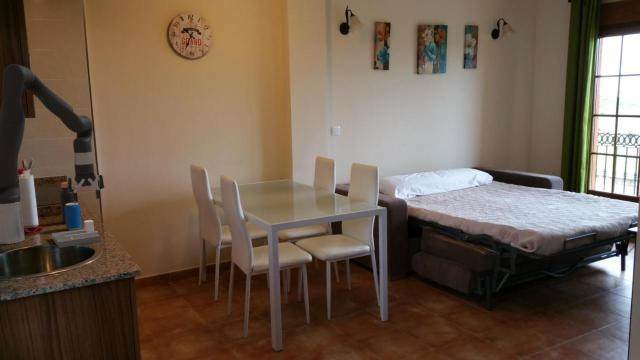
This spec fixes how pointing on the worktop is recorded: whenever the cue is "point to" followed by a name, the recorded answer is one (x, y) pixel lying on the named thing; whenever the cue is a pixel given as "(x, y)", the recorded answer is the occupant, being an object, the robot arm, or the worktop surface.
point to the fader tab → (89, 226)
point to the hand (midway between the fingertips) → (87, 200)
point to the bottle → (65, 199)
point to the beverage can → (73, 216)
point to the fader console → (75, 238)
